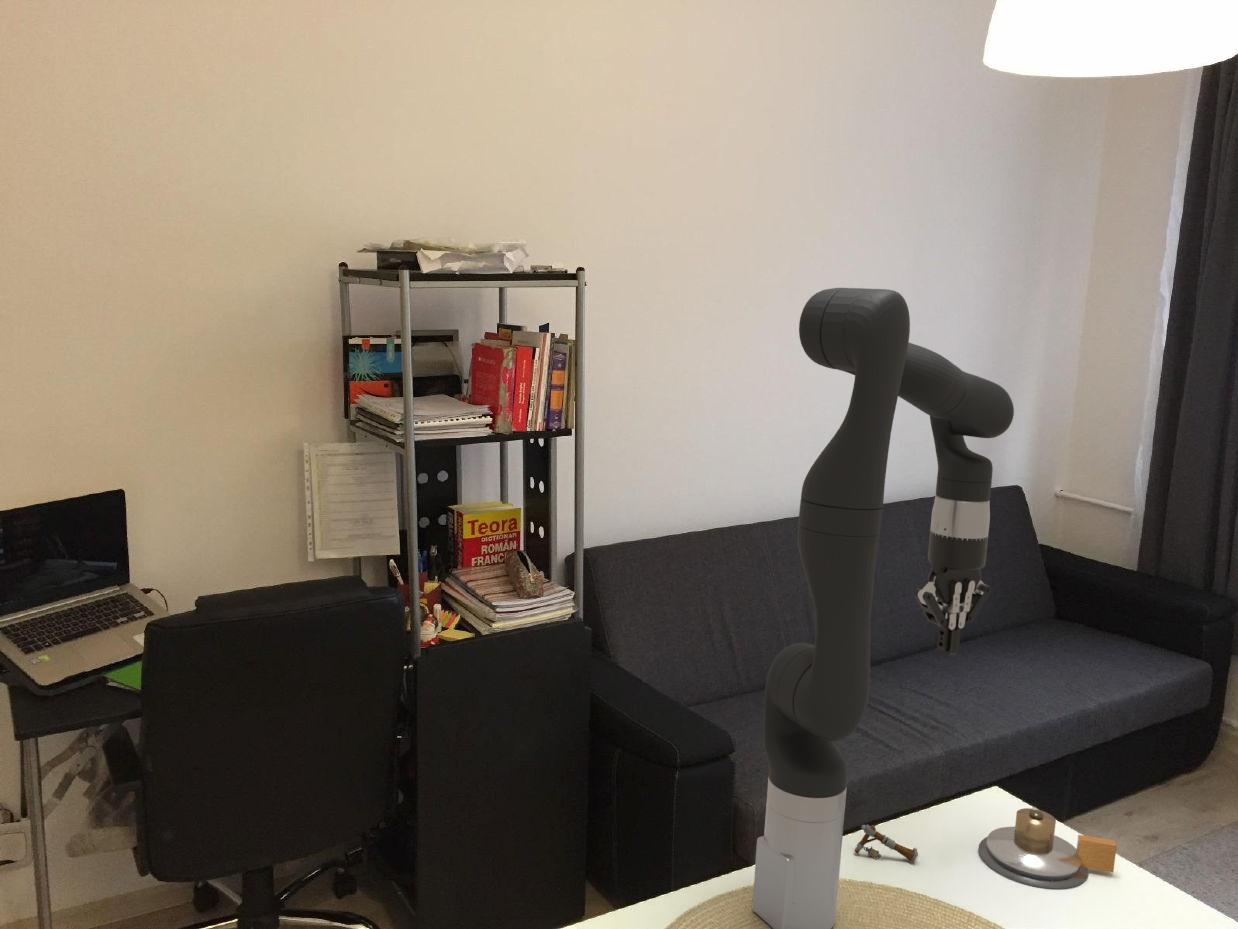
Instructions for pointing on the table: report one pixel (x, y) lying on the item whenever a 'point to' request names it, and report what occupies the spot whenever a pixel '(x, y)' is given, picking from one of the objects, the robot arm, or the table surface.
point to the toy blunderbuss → (888, 842)
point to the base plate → (1027, 880)
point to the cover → (1034, 830)
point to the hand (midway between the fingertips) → (947, 653)
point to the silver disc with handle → (1051, 855)
